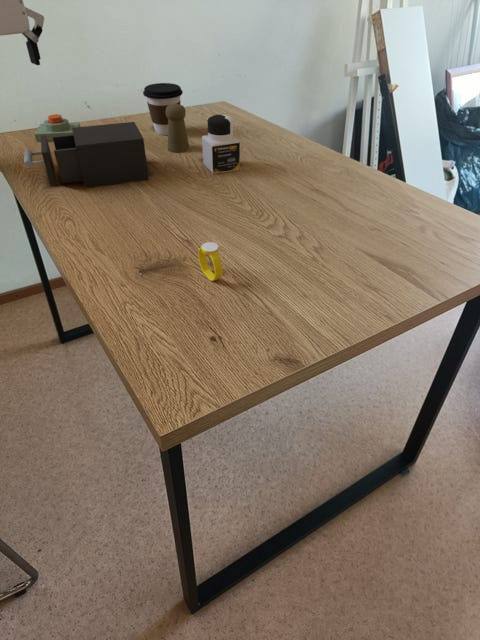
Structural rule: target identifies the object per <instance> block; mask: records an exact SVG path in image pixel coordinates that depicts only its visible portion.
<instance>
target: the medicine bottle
mask: <svg viewBox="0 0 480 640" xmlns="http://www.w3.org/2000/svg"><path fill="white" fill-rule="evenodd" d="M201 140H202V141H201V142H202V144H201V145H202V162H203V163H202V164H203V165H204V167H206V168H207V169H208V171H209V172H210V173H211V174H212V175H218V174H224V173H230V172H236V171H240V167H241V165H240V162H241V161H240V159H241V158H240V157H241V155H240V153H241V152H240V151H241V150H240V149H241V148H240V147H241V141H240V140H239V139H238V138H236V136H234V119H233V118H232V117H231V116H229V115H227V114H214V115H211V116H209V117H208V118H207V134H206V135H202V136H201Z"/></svg>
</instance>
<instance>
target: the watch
mask: <svg viewBox="0 0 480 640" xmlns="http://www.w3.org/2000/svg"><path fill="white" fill-rule="evenodd" d="M207 255H208V256H209V257H210V259H211V261H212V264H213V268H214V270H213V271H212V269H211V268H210V265H209V263H208V259H207ZM197 257H198V263H199V266H200V269H201V271H202V273H203V274H204V275H205V276H206V277H207V278H208V280H209V281H210V282H214V281H218V280H220V279H221V278H222V276H223V263H222V259H221V257H220V254H219V245H218V243H216V242H212V241H207V242H205V243H203V244H202V245H201V246H200V247H199V249H198V250H197Z"/></svg>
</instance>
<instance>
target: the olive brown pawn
mask: <svg viewBox="0 0 480 640" xmlns="http://www.w3.org/2000/svg"><path fill="white" fill-rule="evenodd" d="M186 112H187V111H186V108H185V106H184V105H182V104H181V103H180V104H171V105H168V106H167V107H166V111H165V113H166V117H167V118H168V135H167V148H166V149H167V151H169V152H171V153H185V152H187V151H189V150H190V143H189V142H190V141H189V138H188V137H189V136H188V132H187V127H186V122H185V118H186V114H187V113H186Z"/></svg>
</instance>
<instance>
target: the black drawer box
mask: <svg viewBox="0 0 480 640" xmlns="http://www.w3.org/2000/svg"><path fill="white" fill-rule="evenodd" d="M72 130H73V135H74V140H75V145H76V149H77V154H78V158H79V162H80V167H81V171H82V176H83V180H84V181H83V184H84V188H85V189H88V188H89V189H90V188H98V187H105V186H112V185H121V184H127V183H128V184H129V183H136V182H143V181H149V180H150V179H149V178H150V177H149V170H148V169H149V168H148V163H147V155H146V147H145V140H144V137H143V135H142V133H141V131H140V129H139V128H138V126H137V124H136V122H135V121H129V122H128V121H127V122H118V123H117V122H116V123H108V124H97V125H87V126H80V127H75V128H72Z"/></svg>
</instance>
